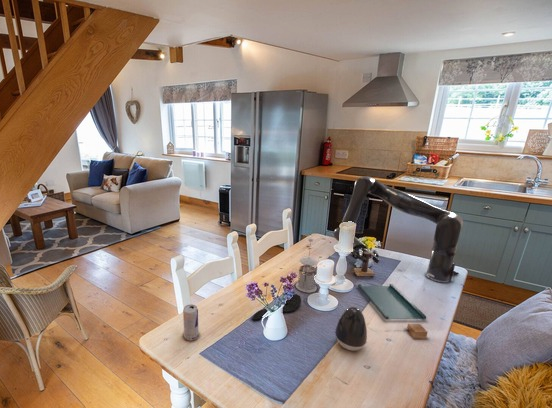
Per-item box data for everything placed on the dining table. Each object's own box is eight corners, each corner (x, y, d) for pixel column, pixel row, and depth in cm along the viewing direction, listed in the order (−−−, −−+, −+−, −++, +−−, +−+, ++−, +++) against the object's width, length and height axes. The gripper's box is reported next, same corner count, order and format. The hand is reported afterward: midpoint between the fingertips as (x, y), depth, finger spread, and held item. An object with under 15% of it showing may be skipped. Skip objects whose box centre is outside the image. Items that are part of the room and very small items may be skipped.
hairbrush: (246, 308, 126) (292, 288, 137) (247, 316, 127) (291, 295, 138) (259, 320, 119) (306, 298, 130) (259, 327, 120) (305, 305, 132)
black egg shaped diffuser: (328, 343, 111) (332, 307, 106) (343, 331, 117) (348, 296, 112) (355, 360, 103) (361, 322, 99) (370, 346, 109) (376, 310, 105)
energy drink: (200, 332, 116) (200, 305, 113) (195, 342, 111) (194, 314, 108) (187, 329, 118) (186, 302, 114) (181, 339, 113) (180, 311, 110)
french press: (318, 284, 148) (323, 236, 141) (314, 296, 138) (319, 246, 131) (298, 279, 153) (302, 232, 146) (292, 291, 143) (296, 241, 136)
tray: (357, 288, 145) (358, 283, 144) (391, 288, 145) (392, 283, 144) (384, 321, 122) (385, 316, 121) (425, 321, 122) (426, 316, 121)
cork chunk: (406, 330, 117) (407, 323, 116) (418, 330, 117) (419, 323, 116) (413, 338, 113) (415, 331, 112) (426, 338, 113) (427, 331, 112)
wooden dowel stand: (353, 273, 158) (356, 250, 154) (368, 273, 158) (372, 250, 154) (357, 278, 153) (361, 255, 149) (373, 278, 153) (377, 255, 149)
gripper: (343, 240, 162) (357, 254, 146) (370, 240, 162) (388, 254, 146) (341, 253, 164) (355, 268, 148) (368, 253, 164) (385, 268, 148)
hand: (371, 261), depth 147 cm, fingers open, 5 cm apart
